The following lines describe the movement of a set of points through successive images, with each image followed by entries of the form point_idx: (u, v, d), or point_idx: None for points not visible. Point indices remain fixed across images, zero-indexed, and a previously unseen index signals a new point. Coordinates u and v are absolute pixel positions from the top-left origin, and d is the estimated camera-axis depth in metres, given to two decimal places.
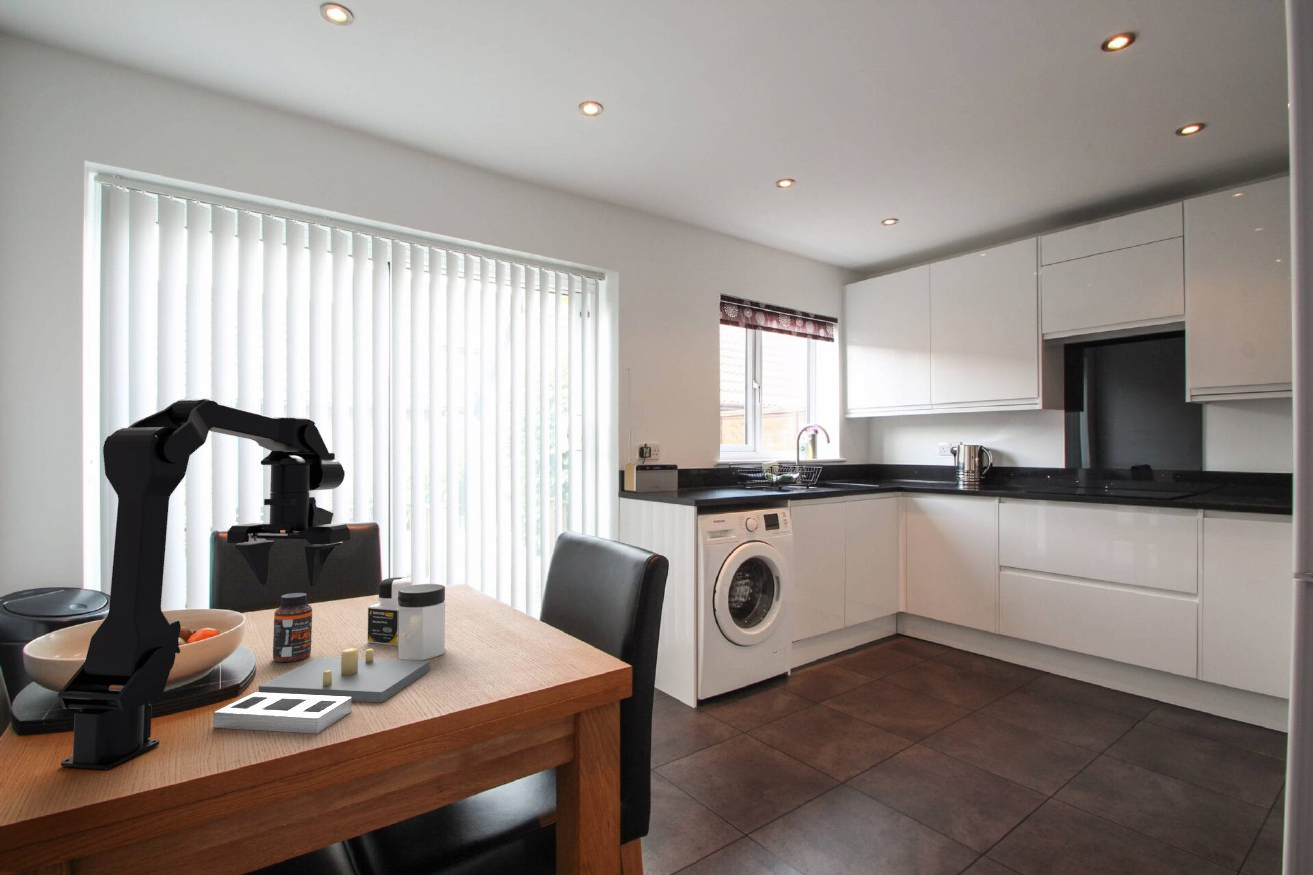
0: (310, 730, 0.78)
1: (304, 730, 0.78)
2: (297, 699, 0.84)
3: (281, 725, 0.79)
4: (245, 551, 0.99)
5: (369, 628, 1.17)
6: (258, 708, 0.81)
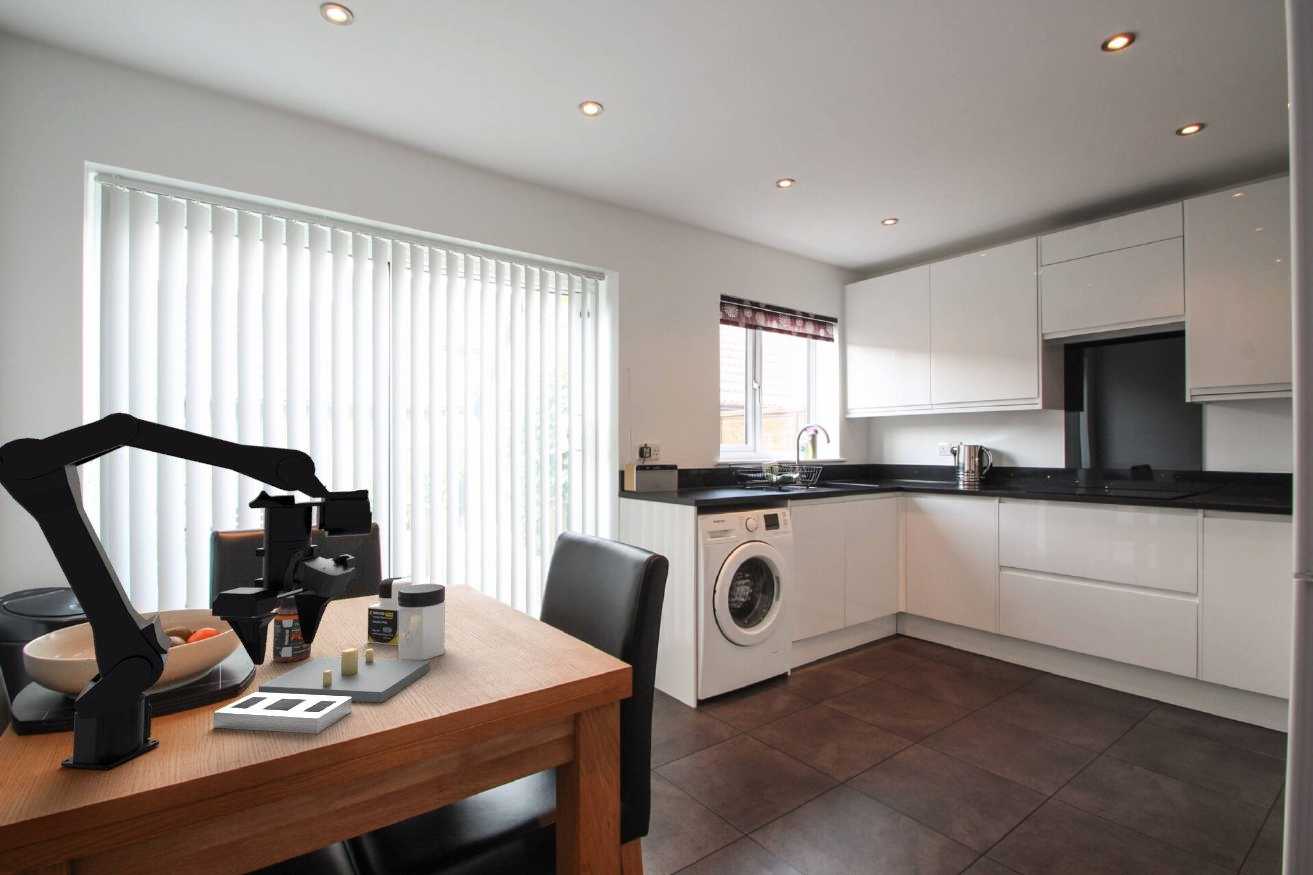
0: (310, 730, 0.78)
1: (304, 730, 0.78)
2: (297, 699, 0.84)
3: (281, 725, 0.79)
4: None
5: (369, 628, 1.17)
6: (258, 708, 0.81)
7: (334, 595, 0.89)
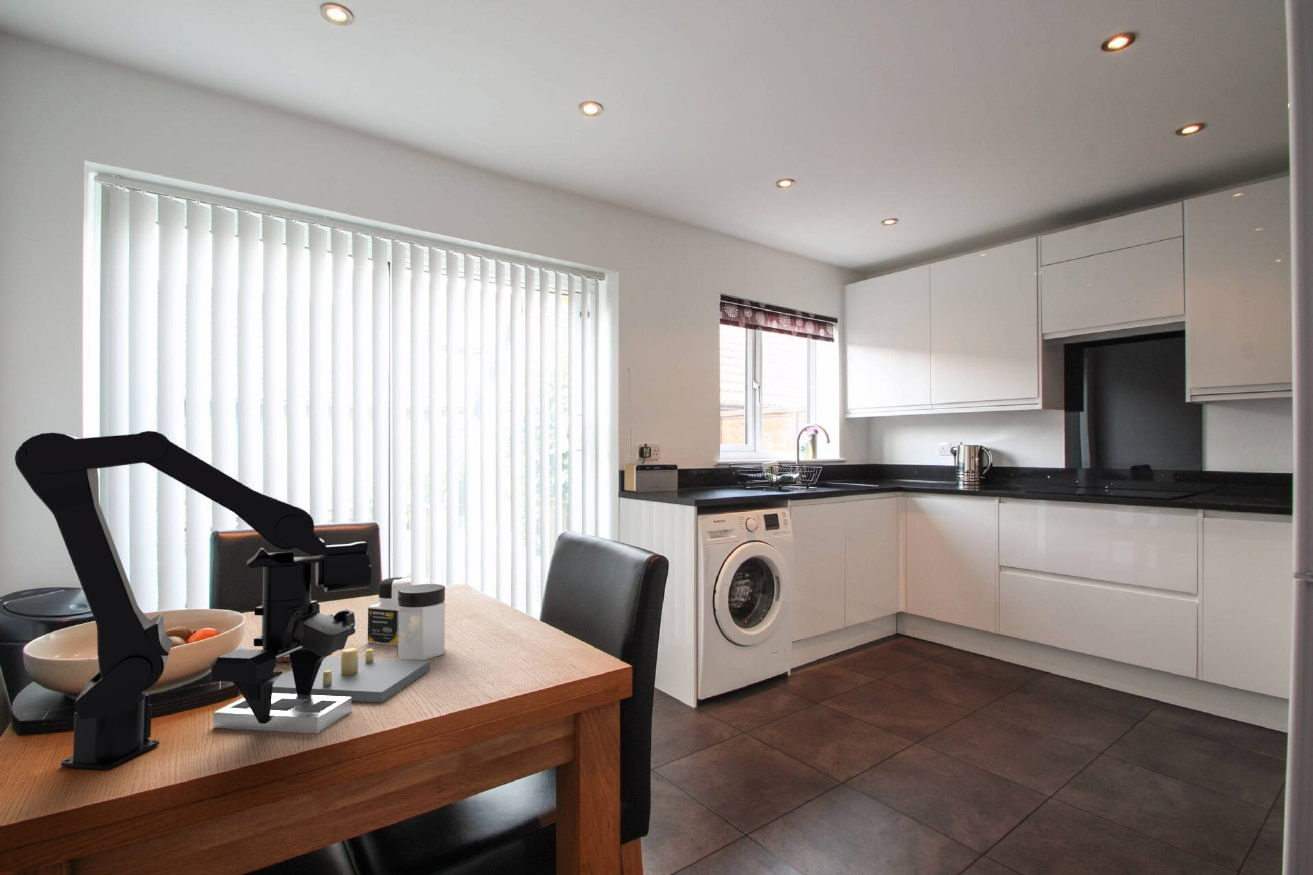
0: (310, 730, 0.78)
1: (304, 730, 0.78)
2: (297, 699, 0.84)
3: (281, 725, 0.79)
4: None
5: (369, 628, 1.17)
6: None
7: None
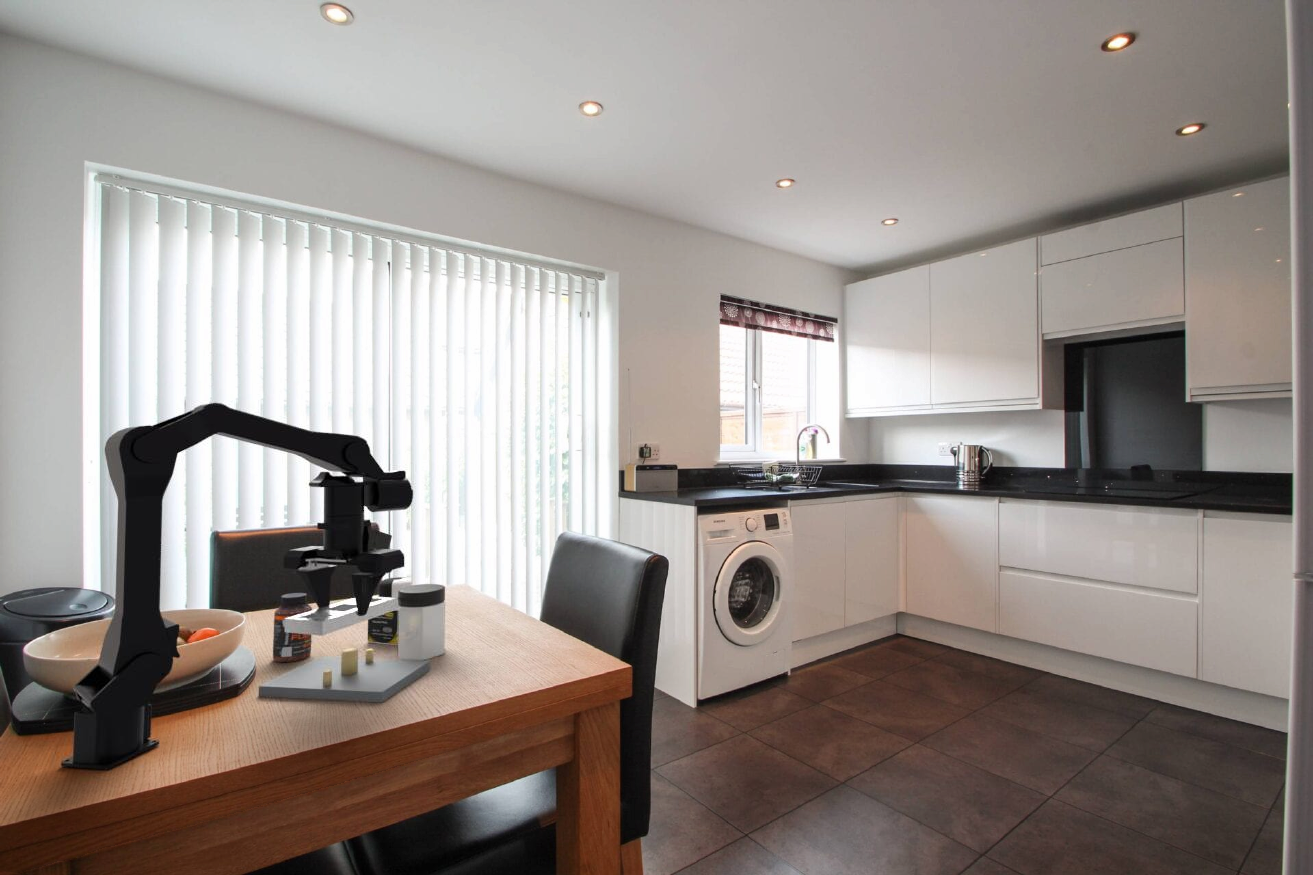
0: (391, 609, 1.00)
1: (387, 611, 0.99)
2: (335, 606, 0.96)
3: (373, 613, 0.96)
4: (305, 577, 0.94)
5: (369, 628, 1.17)
6: (339, 612, 0.92)
7: None
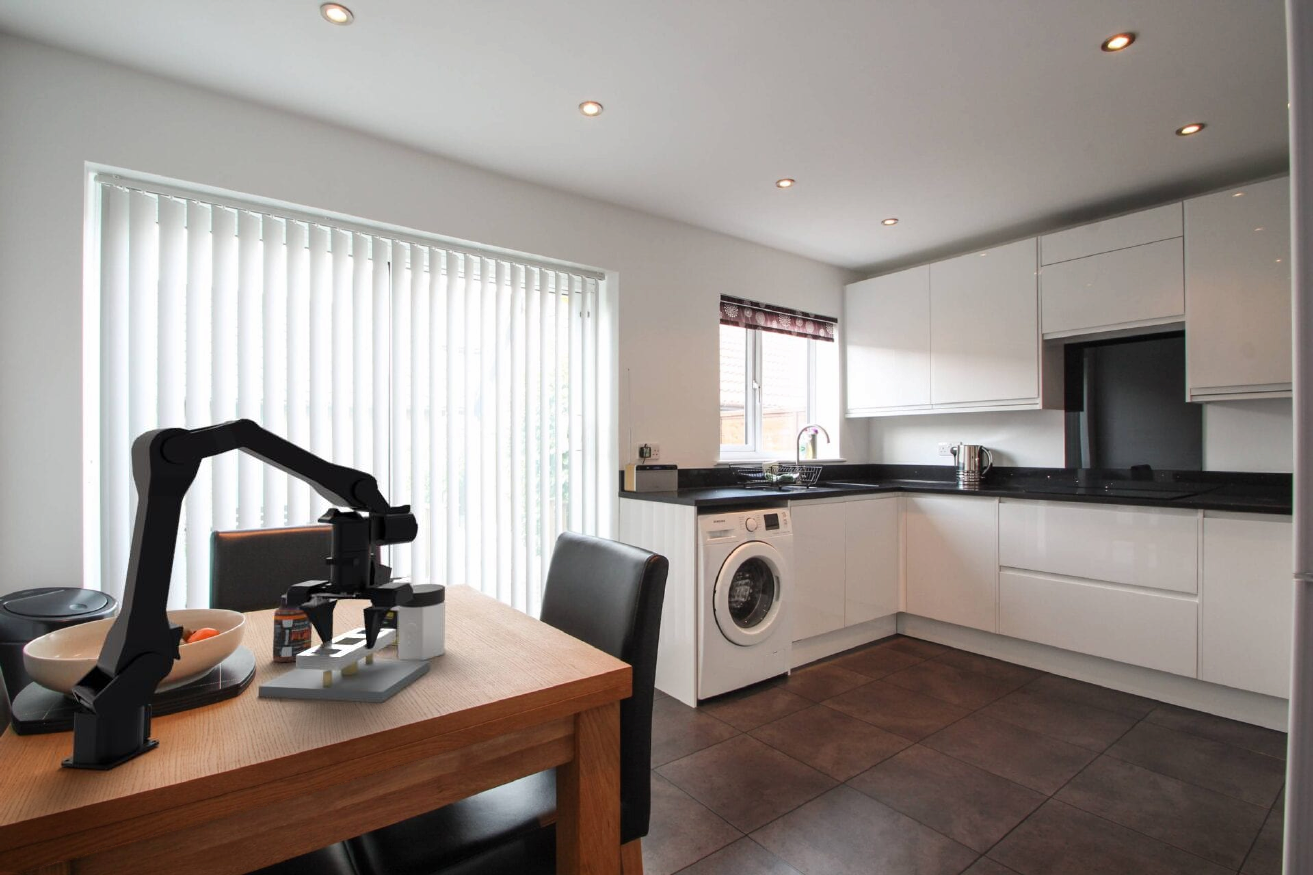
0: (392, 640, 1.02)
1: (389, 642, 1.02)
2: (339, 640, 0.97)
3: (378, 645, 0.98)
4: (311, 613, 0.95)
5: None
6: (349, 646, 0.94)
7: None
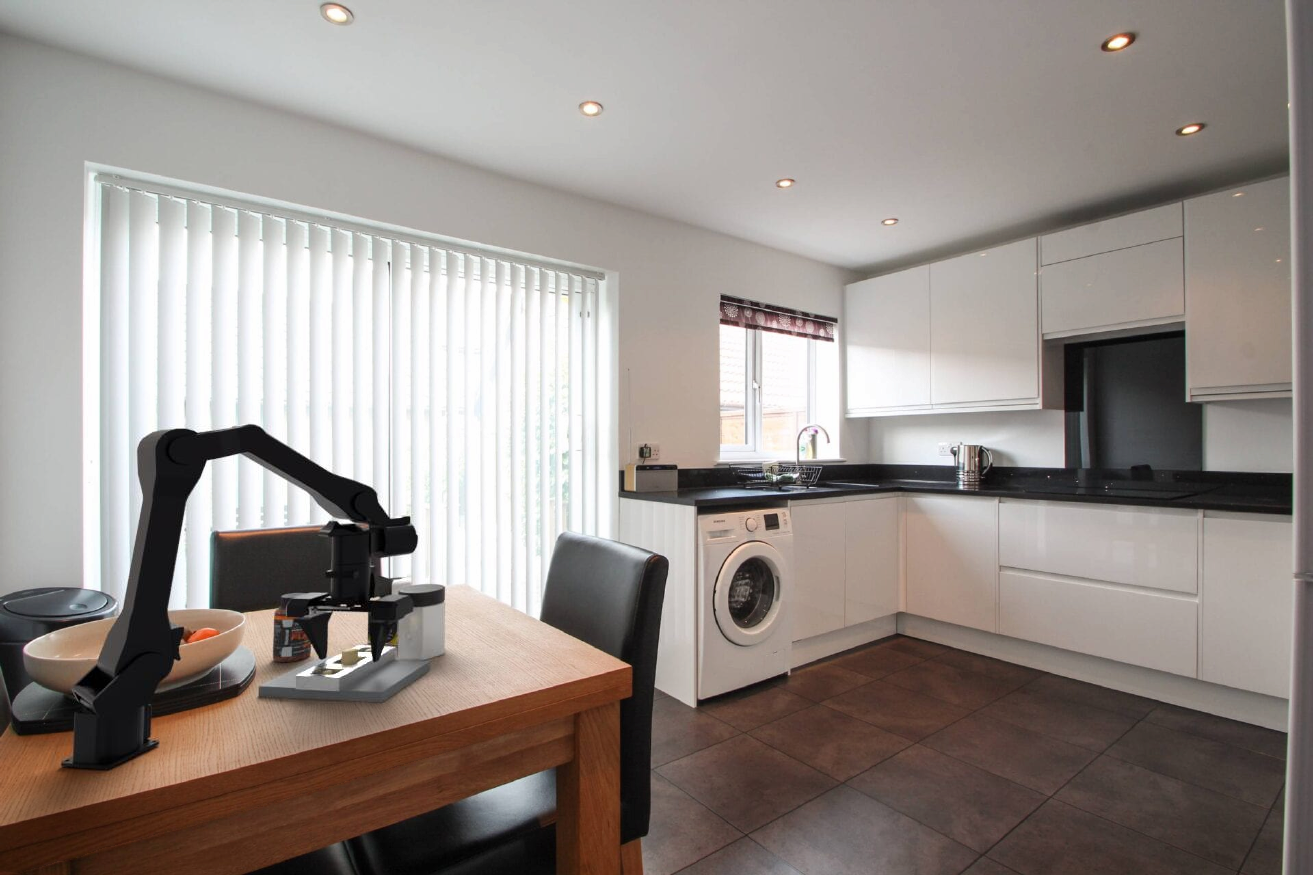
0: (392, 658, 1.02)
1: (390, 660, 1.01)
2: (339, 659, 0.97)
3: (378, 663, 0.98)
4: (305, 625, 0.95)
5: None
6: (349, 665, 0.94)
7: None
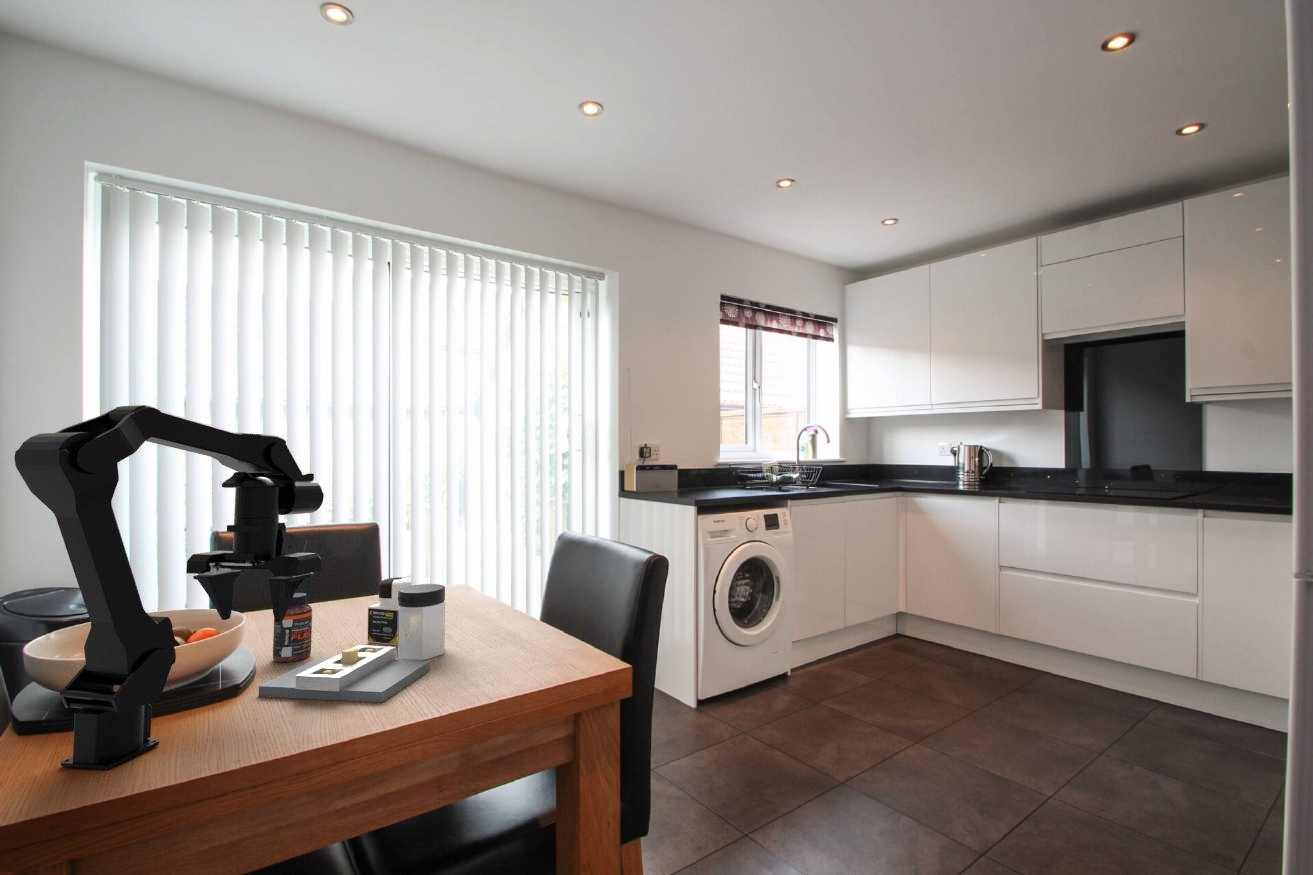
0: (392, 658, 1.02)
1: (390, 660, 1.01)
2: (339, 659, 0.97)
3: (378, 663, 0.98)
4: (205, 582, 0.90)
5: (369, 628, 1.17)
6: (349, 665, 0.94)
7: None
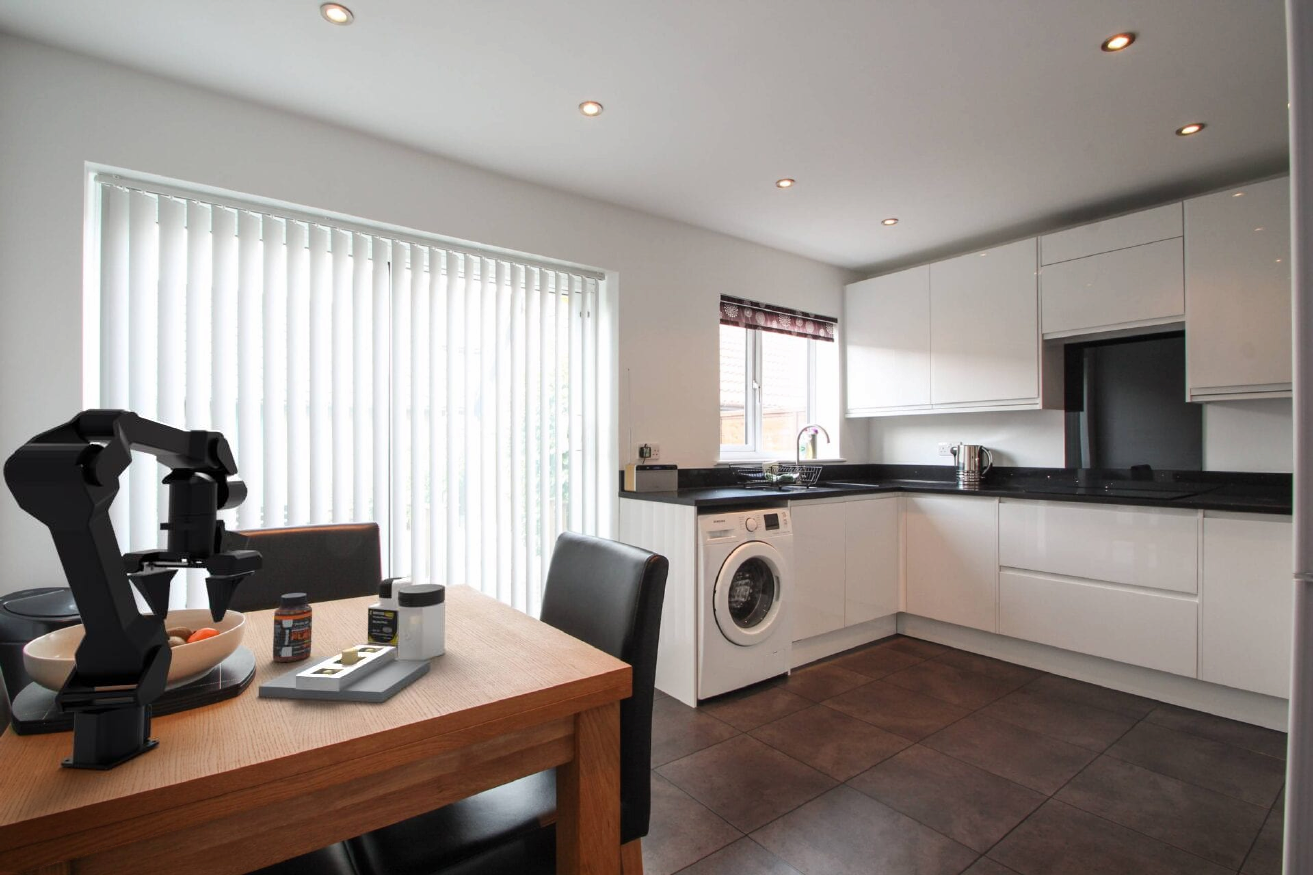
0: (392, 658, 1.02)
1: (390, 660, 1.01)
2: (339, 659, 0.97)
3: (378, 663, 0.98)
4: (138, 582, 0.86)
5: (369, 628, 1.17)
6: (349, 665, 0.94)
7: None
